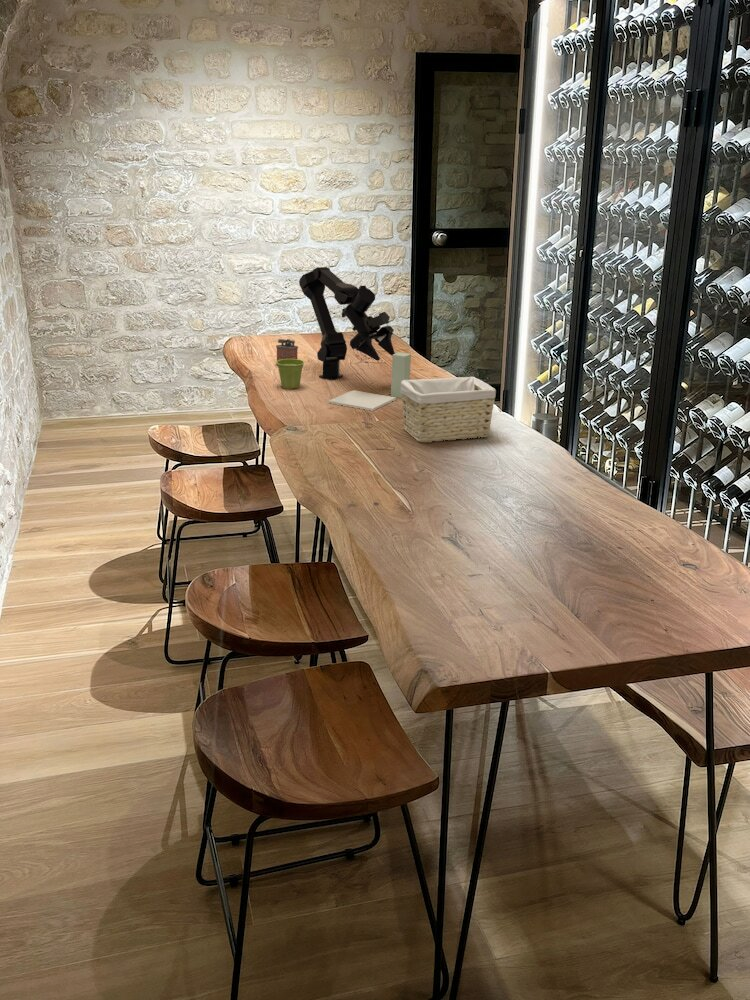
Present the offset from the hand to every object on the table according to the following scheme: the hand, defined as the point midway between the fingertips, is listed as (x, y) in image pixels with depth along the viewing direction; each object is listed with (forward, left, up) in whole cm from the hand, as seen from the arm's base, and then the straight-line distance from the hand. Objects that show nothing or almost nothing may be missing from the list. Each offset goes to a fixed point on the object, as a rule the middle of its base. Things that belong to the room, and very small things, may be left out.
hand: (386, 357), depth 286 cm
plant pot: (+11, -30, -12) cm, 35 cm away
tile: (+13, -1, -12) cm, 18 cm away
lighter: (-14, -48, -12) cm, 52 cm away
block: (0, +6, -12) cm, 13 cm away
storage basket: (+30, +35, -12) cm, 48 cm away
